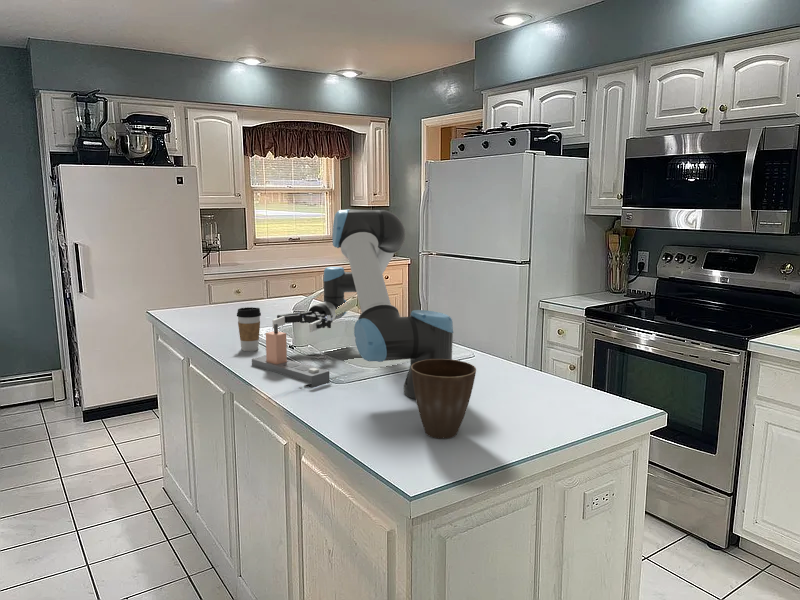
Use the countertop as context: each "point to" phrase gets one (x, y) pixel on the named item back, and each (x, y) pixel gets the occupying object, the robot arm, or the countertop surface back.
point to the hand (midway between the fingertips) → (291, 326)
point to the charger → (276, 346)
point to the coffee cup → (249, 328)
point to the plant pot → (442, 394)
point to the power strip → (295, 371)
